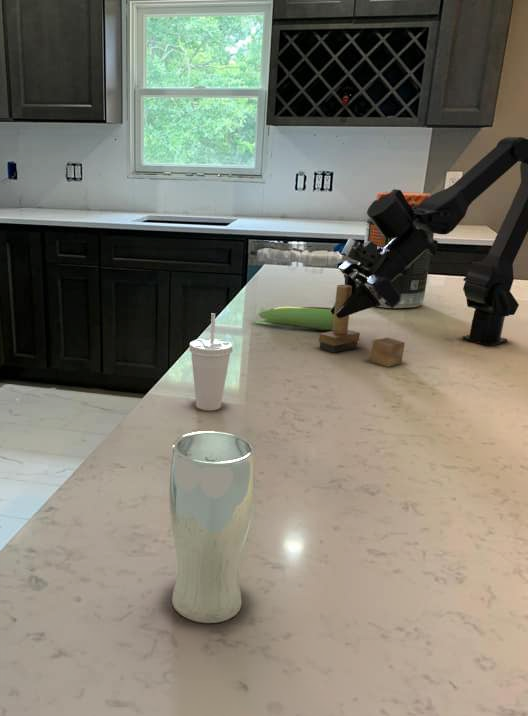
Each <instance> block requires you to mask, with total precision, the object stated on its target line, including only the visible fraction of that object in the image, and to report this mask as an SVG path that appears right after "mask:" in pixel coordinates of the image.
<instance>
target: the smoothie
mask: <svg viewBox="0 0 528 716" xmlns="http://www.w3.org/2000/svg"><path fill="white" fill-rule="evenodd" d="M215 328H216V313H215V312H214V313H213V312H212V313H211V317H210V338H198V339H194V340H192V341H190V342H189V348H188V351H189V352H190V353H191V364H192V373H193V374H192V375H193V385H194V397H195V398H194V399H195V405H196V406H195V407H196V408H197V409H198V410H203V411H216V410H219V409H221V407H222V401H223V396H224V390H225V385H226V379H227V373H228V367H229V363H230V357H231V354H232V353H233V351H234V350H233V345H234V344H233V343H232V342H231V341H228V340H225V339H221V338H220V339H219V338H215V333H216V332H215Z"/></svg>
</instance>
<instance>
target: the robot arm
mask: <svg viewBox="0 0 528 716" xmlns="http://www.w3.org/2000/svg"><path fill="white" fill-rule="evenodd" d="M518 162H521V163H520V165H519V174H520V184H519V186H518V188H517V191H516V192H515V194H514V196H513V199H512V201H511V203H510V206H509V207H508V210H507V212H506V214H505V217H504V218H503V221H502V223H501V224H500V227H499V230H498V232H497V233H496V236H495V239H494V240H493V242H492V245H491V247H490V249H489V251H488V254H487V255H486V256H485V257H484V258H483V259H482V260H481V261H476V260H473V261H472V262H471V264H470V266H469V268H468V273H467V274H466V275H465V277H464V278H463V281H464V284H463V286H462V291H463V293H464V296H465V298H466V307H468V308H470V309H471V308H472V309H474V311H473V316H472V319H471V320H472V321H471V325H470V331H469V334H467V335H463V336H461V339H462V340H463V341H464V340H465V341H469V342H473V343H477V344H480V345H485V346H490V347H491V346H495V345H499V344H503V343H507V342H508V340H509V339H508V338H505V337H502V333H503V327H504V323H505V318H506V317H509V316H514V315H515V314H516V313H517V310H518V308H519V306H520V305H519V302H518V301H517V300H516V298H515V296H514V295H513V293H512V292H511V289H512V286H513V283H514V280H515V279H514V262H515V260H516V257H517V256H518V253H519V252H520V249H521V247H522V245H523V243H524V240H525V239H526V237H527V234H528V138H526V137H523V136H506V137H504V138H502V139H500V140H499V141H498V142H497V144H496V146H495V147H493V149H491V150H490V151H489V152H487V154H486V155H485V156H483V158H481V159H480V160H479V161H478V162H477V163H476V164H474V165H473V166H472V167H471V168H470V169H469V170H468V171H466V173H464V174H463V175H462V176H461V177H460V178H459V179H457V180H456V182H454V183H453V184H452V185H450V186H448V187H447V188H445V189H442V190H439V191H438V192H435V193H433V194H431V195H432V196H430V197H429V198H427V199H425V200H424V201H422V202H421V203H420V204H419V205H418V206H417V207H412V208H411V206H410V205H409V203H408V202H407V201H406V199H405V197H404V194H403V193H402V192H403V191H402V190H401V189H396V188H393V189H392V190H391V191H389V192H390V193H389V194H386V195H384V196H382V197H381V198H379V199H378V200H376V199H375V200H373V202H372V203H371V204H370V205H369V206H368V208H367V211H366V215H367V217H368V216H369V218H370V219H371V220H372V222H373V223H374V224H375V226H376V227H377V228H378V230H379V231H380V232H381V234H382V235H383V237H385V238H391V237H392V238H394V239H393V240H392V241H391V242H389V243H388V244H387V245H386V246H385V247H384V248H383V247H378V245H376V244H375V243H373V242H371V241H366V242H365V241H364V242H365V243H364V242H363V243H362V242H360V241H357V240H355V239H353V238H348V239H347V242H346V244H345V245H344V247H343V250H341V253H340V254H341V255H342V256H344V257H347V258H349V259H351V260H345V261H344V262H342V264H341V265H339V267H338V270H339V271H340V272H341V273H342V274H343V277H344V285H350V286H352V293H351V296H350V297H349V298H348V300H347V301H346V302H345V303H344V304H343V305H342V307H341V308H340V309H339V310H338V312H337V313H336V316H337V317H338V318H342V317H345V316H348V315H349V316H351V315H354V314H356V313H359V312H362V311H364V310H368V309H372V308H374V307H378V306H380V305H381V304H380V302H379V301H380V300H381V299H382V298H383V299H384V300H385V301H386V302H385V304H386V306H388V307H390V308H389V309H392V310H393V309H395V308H394V307H395V306H396V305H397V304H398V303H399V302H400V299H401V294H400V292H399V291H398V290H397V289H396V287H395V286H394V285H393V284H392V281H393V280H394V279H396V278H397V277H398V276H399V275H401V276H405V275H406V274H407V273H408V272H407V271H406V270H405V269H406V268H407V267H408V266H410V265H411V264H412V263H413V262H414V261H415V260H416V259H417V258H418V257H419V256H420V255H421V254H422V253H424V252H426V253H428V254H430V255H431V256H432V257H436V256H437V252H438V249H437V247H438V243H439V241H438V240H436V239H434V238H433V239H430V238H429V237H428V235H427V234H426V233H425V231H426V232H431V233H434V234H436V235H449V234H450V233H452V232H453V231H454V230H455V228H456V227H457V226H458V225H459V224H460V223H461V222H462V220H463V219H464V218H465V217H466V214H467V212H468V208H469V207H470V206H471V205H472V203H473V202H474V201H476V200H477V198H479V197H480V196H481V195H483V193H484V192H486V191H487V190H488V189H489V188H490V187H491V186H493V184H494V183H496V182H497V181H498V180H499V179H500V178H502V177H503V175H505V174H506V173H507V172H508V171H509V170H511V169H512V167H514V166H515V165H516V164H517V163H518ZM413 223H415V224H416V226H417V227H418V229H417V228H416V226H415V225H414V224H413ZM352 260H353V261H352ZM354 261H356V262H354ZM357 262H358V263H357ZM330 308H331V310H330V311H331V313H332V314H333V315H334V311H335V302H334V303H333V305H332V306H331V307H330Z"/></svg>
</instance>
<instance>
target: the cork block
mask: <svg viewBox="0 0 528 716" xmlns="http://www.w3.org/2000/svg"><path fill="white" fill-rule="evenodd" d="M405 344H406V342H405V341H401V340H398V339H394V338H390V337H383V338H378V339H374V340H372V346H371V351H370V360H369V362H371V363H374V364H377V365H380V366H383V367H387V368H388V367H393V366H397V365H401V364H402V363H403V357H404V351H405V350H404V349H405Z"/></svg>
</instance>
